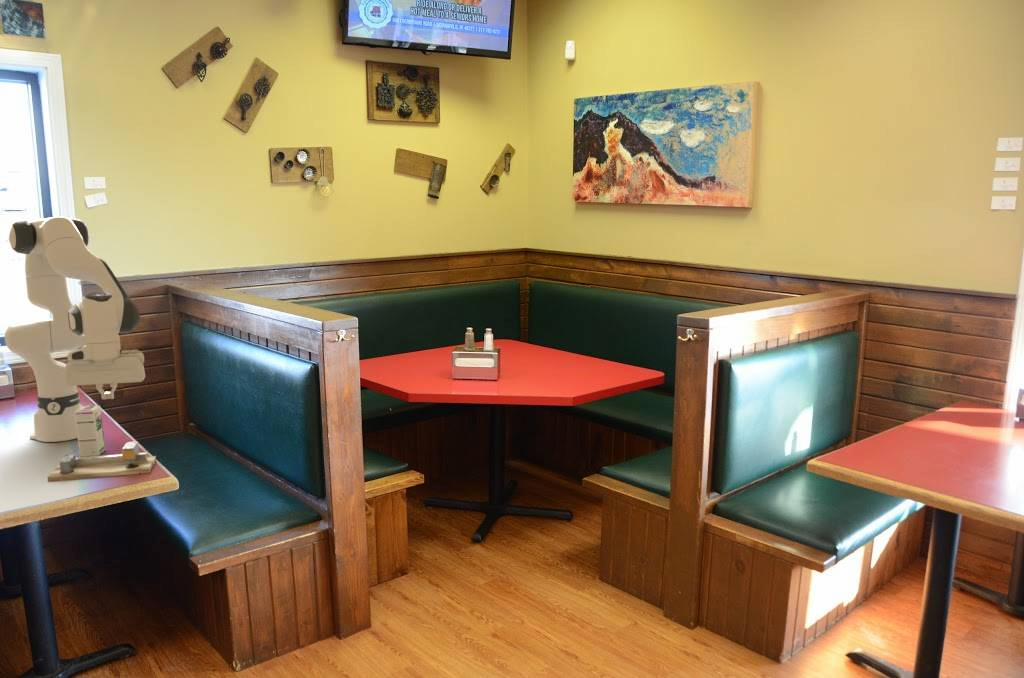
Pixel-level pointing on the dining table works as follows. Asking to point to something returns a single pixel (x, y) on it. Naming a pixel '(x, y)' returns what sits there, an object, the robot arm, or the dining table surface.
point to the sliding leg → (130, 452)
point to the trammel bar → (94, 461)
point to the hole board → (103, 470)
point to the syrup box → (89, 431)
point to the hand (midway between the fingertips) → (107, 398)
